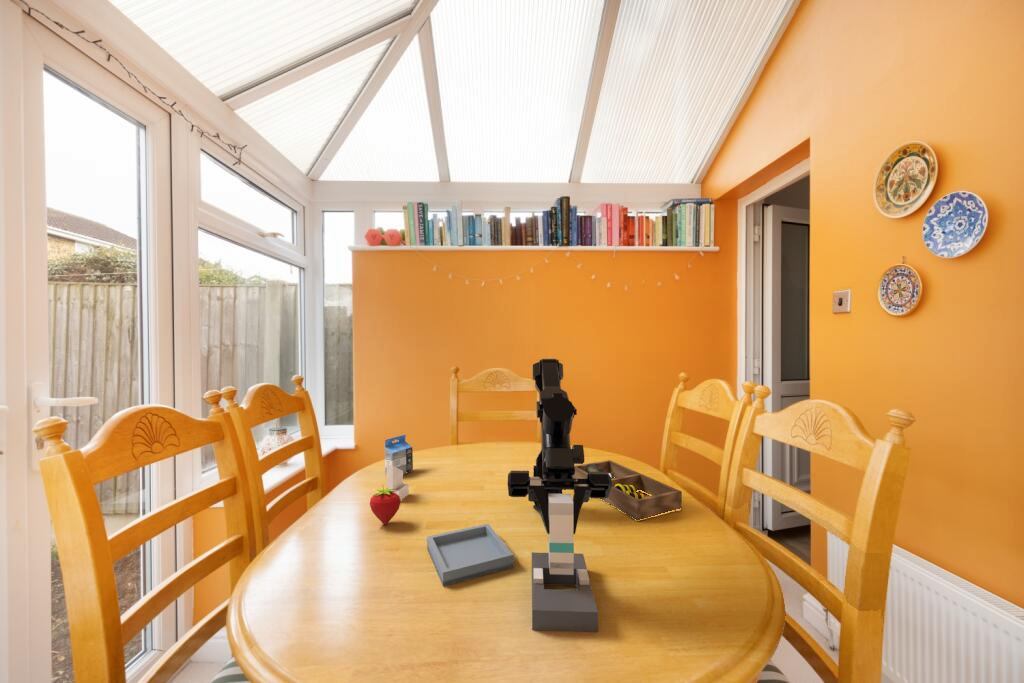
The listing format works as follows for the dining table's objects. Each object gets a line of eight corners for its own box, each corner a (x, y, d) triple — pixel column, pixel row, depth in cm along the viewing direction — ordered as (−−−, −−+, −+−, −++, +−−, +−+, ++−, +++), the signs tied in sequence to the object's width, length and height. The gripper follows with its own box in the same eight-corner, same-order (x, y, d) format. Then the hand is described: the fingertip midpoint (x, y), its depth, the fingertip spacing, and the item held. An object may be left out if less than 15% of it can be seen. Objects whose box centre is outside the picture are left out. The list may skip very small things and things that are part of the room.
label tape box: (392, 479, 122) (392, 441, 122) (384, 476, 125) (384, 439, 125) (413, 471, 130) (413, 435, 130) (405, 469, 132) (405, 434, 132)
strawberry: (393, 531, 88) (393, 488, 88) (364, 528, 90) (364, 486, 90) (405, 519, 94) (405, 479, 94) (377, 517, 96) (377, 477, 96)
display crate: (610, 475, 126) (609, 460, 126) (681, 510, 99) (681, 491, 99) (571, 482, 119) (571, 466, 119) (637, 521, 93) (637, 501, 93)
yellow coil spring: (647, 513, 98) (647, 493, 98) (627, 514, 97) (627, 495, 97) (630, 497, 108) (630, 480, 108) (612, 499, 107) (612, 481, 107)
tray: (488, 534, 87) (488, 523, 87) (513, 567, 74) (513, 554, 74) (427, 548, 81) (427, 536, 81) (443, 586, 68) (443, 572, 68)
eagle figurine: (612, 478, 120) (583, 471, 122) (616, 463, 116) (586, 456, 118) (610, 499, 114) (580, 491, 116) (614, 484, 110) (583, 476, 112)
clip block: (531, 567, 74) (531, 548, 74) (583, 569, 74) (583, 549, 74) (532, 629, 58) (532, 604, 58) (598, 631, 58) (597, 606, 58)
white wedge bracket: (378, 498, 101) (386, 465, 105) (394, 504, 109) (401, 472, 114) (390, 500, 100) (398, 466, 105) (406, 505, 109) (413, 473, 113)
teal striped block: (548, 560, 68) (548, 493, 68) (571, 560, 68) (571, 493, 68) (549, 574, 64) (549, 503, 64) (573, 574, 64) (573, 503, 64)
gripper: (508, 427, 70) (504, 514, 59) (609, 428, 69) (625, 516, 58) (510, 457, 78) (507, 538, 67) (601, 458, 77) (613, 540, 66)
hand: (561, 533), depth 64 cm, fingers closed on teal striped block, 4 cm apart
